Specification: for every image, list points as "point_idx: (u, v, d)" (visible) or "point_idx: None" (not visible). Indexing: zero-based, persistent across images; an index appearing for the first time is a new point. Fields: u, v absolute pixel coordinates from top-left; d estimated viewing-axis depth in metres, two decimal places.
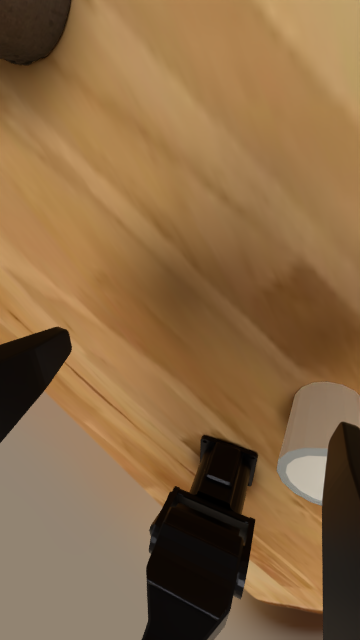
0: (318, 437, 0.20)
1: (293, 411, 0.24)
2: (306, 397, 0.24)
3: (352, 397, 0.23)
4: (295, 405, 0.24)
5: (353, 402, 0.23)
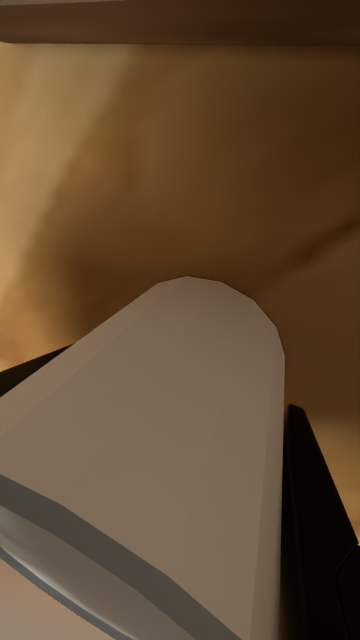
0: None
1: None
2: None
3: None
4: None
5: None
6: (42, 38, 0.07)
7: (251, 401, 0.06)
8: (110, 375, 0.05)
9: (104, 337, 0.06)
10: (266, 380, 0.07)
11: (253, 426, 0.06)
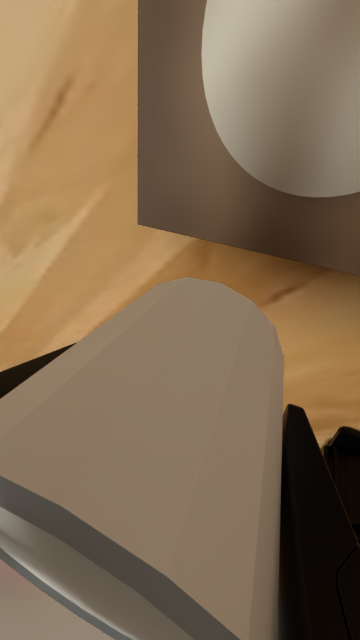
0: None
1: None
2: None
3: None
4: None
5: None
6: None
7: (250, 402, 0.06)
8: (109, 377, 0.05)
9: (103, 338, 0.06)
10: (265, 381, 0.07)
11: (252, 427, 0.06)
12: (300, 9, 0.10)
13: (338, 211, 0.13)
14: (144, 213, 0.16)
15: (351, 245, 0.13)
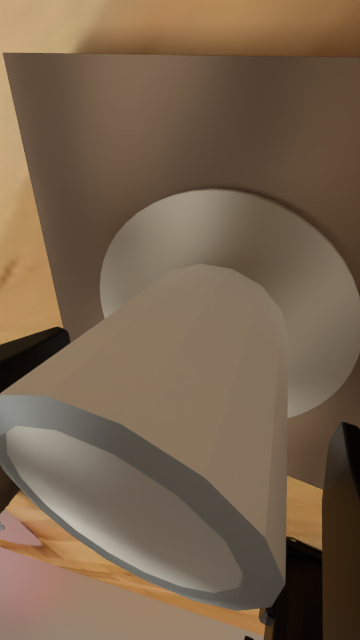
0: None
1: None
2: None
3: None
4: None
5: None
6: None
7: (261, 367, 0.07)
8: (144, 339, 0.06)
9: (133, 312, 0.07)
10: (273, 353, 0.08)
11: (264, 386, 0.06)
12: None
13: None
14: None
15: None
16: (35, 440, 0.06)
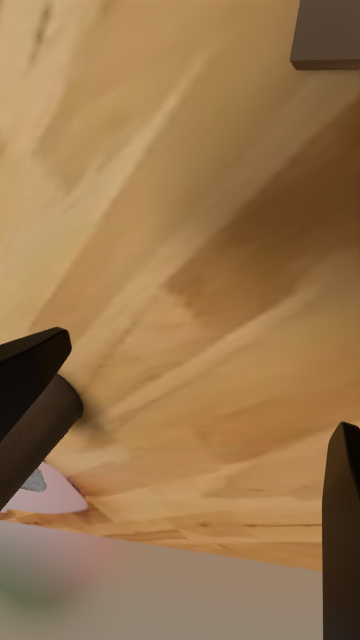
0: None
1: None
2: None
3: None
4: None
5: None
6: (335, 67, 0.13)
7: None
8: None
9: None
10: None
11: None
12: None
13: None
14: (306, 35, 0.11)
15: None
16: None
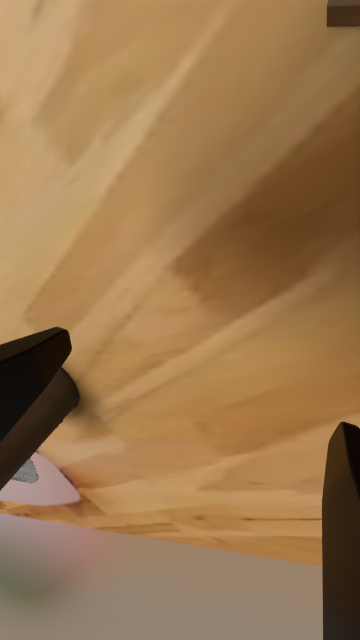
0: None
1: None
2: None
3: None
4: None
5: None
6: None
7: None
8: None
9: None
10: None
11: None
12: None
13: None
14: None
15: None
16: None
